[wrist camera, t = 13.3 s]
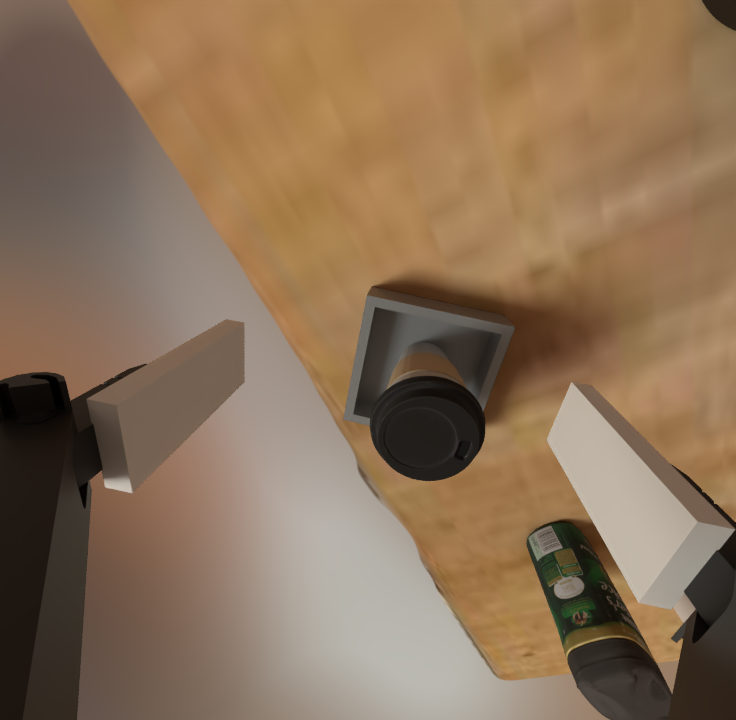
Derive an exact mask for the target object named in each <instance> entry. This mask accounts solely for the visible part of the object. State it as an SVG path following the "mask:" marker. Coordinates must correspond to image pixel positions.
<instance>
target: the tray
mask: <svg viewBox="0 0 736 720" xmlns="http://www.w3.org/2000/svg"><path fill="white" fill-rule="evenodd" d="M514 329H515V326H514V325H513V324H512V323H511V322H510V321H509V320H508V319H507V318H506V317H505V315H501V314H497V313H492V312H487V311H483V310H478V309H473V308H469V307H464V306H459V305H455V304H450V303H446V302H441V301H436V300H432V299H427V298H422V297H418V296H413V295H408V294H404V293H399V292H395V291H390V290H385V289H381V288H376V287H371V289H370V291H369V293H368V294H367V298H366V303H365V309H364V314H363V319H362V324H361V329H360V335H359V340H358V345H357V350H356V356H355V361H354V366H353V371H352V376H351V382H350V387H349V392H348V397H347V403H346V408H345V413H344V418H343V420H347V421H352V422H356V423H360V424H365V425H369V426H370V417H371V412H372V409H373V407H374V405H375V403H376V401H377V400H378V398H379V397H380V396H381V395H382V393H383V392H385V391H386V389H387V387H388V384H389V381H390V378H391V376H392V373H393V370H394V369H395V367H396V365H397V363H398V360H399V358H400V355H401V354H402V352H403V351H404V350H405V348H407V347H408V346H409V345H412V344H414V343H418V342H425V343H431V344H434V345H436V346H438V347H440V348H441V349H442V350H443V351H444V352H445V353H446V355H447V357H448V359H449V360H450V362H451V363H452V364H453V365H454V366H455V368H456V370H457V371H458V373H459V375H460V377H461V378H462V380H463V382H464V384H465V385H466V387H467V389H468V390H469V391H470V392H471V393H472V394H473V395H474V396H475V398H476V399H477V400H478V402H479V403H480V405H481V407H482V410H483V411H484V408H485V406H486V403H487V400H488V398H489V395H490V393H491V390H492V387H493V385H494V382H495V379H496V377H497V374H498V372H499V369H500V366H501V364H502V361H503V358H504V356H505V353H506V351H507V348H508V345H509V343H510V340H511V337H512V335H513V332H514Z"/></svg>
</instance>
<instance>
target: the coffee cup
mask: <svg viewBox="0 0 736 720" xmlns="http://www.w3.org/2000/svg"><path fill="white" fill-rule="evenodd" d="M370 431H371V437H372V441H373V444H374V446H375V448H376V450H377V451H378V453H379V454H380V456H381V457H382V458H383V459H384V460H385V461H386V462H387V463H388V465H389V466H390V467H392V468H393V469H394V470H395V471H397V472H398V473H400V474H402V475H404V476H406V477H409V478H412V479H416V480H422V481H436V480H442V479H446V478H449V477H452V476H454V475H456V474H458V473H459V472H461V471H462V470H464V469H465V468H466V467H467V466H468V465H469V464H470V463H471V462H472V460H473V459H474V458H475V456H476V455H477V454H478V452H479V451H480V449H481V447H482V444H483V442H484V438H485V417H484V413H483V410H482V407H481V405H480V403H479V402H478V400H477V399H476V398H475V396H474V395H473V394H472V393H471V392H470V391H469V390H468V389H467V387H466V385H465V384H464V382H463V380H462V378H461V377H460V375H459V373H458V371H457V370H456V368H455V366H454V365H453V364H452V363H451V362H450V360H449V359H448V357H447V355H446V353H445V352H444V351H443V350H442V349H441V348H440V347H438V346H436V345H434V344H431V343H425V342H418V343H414V344H412V345H409V346H408V347H407V348H405V350H404V351H403V352H402V354H401V355H400V358H399V360H398V363H397V365H396V367H395V369H394V370H393V373H392V376H391V378H390V381H389V384H388V387H387V389H386V391H385V392H383V393H382V395H381V396H380V397H379V398H378V400H377V401H376V403H375V405H374V407H373V409H372V412H371V417H370Z"/></svg>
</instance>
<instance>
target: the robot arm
mask: <svg viewBox="0 0 736 720" xmlns="http://www.w3.org/2000/svg"><path fill="white" fill-rule="evenodd" d="M702 1H703V3H704V4H705V6H706V8H707V9H708V10H709V12H710V13H711V14H712V15H713V16H714V17H715V18H716V19H717V20H718V21H720V22H721V23H722V24H724V25H725V26H727V27H729V28H731V29H733V30H736V0H702ZM243 383H244V322H238V321H232V320H224V321H223V322H221V323H219V324H217V325H216V326H214V327H212V328H210V329H208V330H207V331H205V332H203V333H201V334H200V335H198V336H196V337H194V338H193V339H191V340H189V341H187V342H186V343H184V344H182V345H180V346H179V347H177V348H175V349H173V350H172V351H170V352H168V353H166V354H165V355H163V356H161V357H159V358H158V359H156V360H154V361H152V362H151V363H149V364H143V365H140V366H137V367H133V368H130V369H128V370H126V371H124V372H122V373H120V374H119V375H117V376H115V378H111V379H109V380H108V381H106V382H104V384H100V385H99V386H97V387H95V388H93V389H91V390H89V391H88V392H86V393H84V394H82V395H80V396H79V397H77V398H75V399H73V400H71V401H70V398H69V394H68V389H67V385H66V381H65V378H64V377H63V376H61V375H59V374H56V373H49V372H40V373H39V372H38V373H29V374H21V375H16V376H13V377H10V378H6V379H3V380H1V381H0V720H77V711H78V695H79V680H80V679H79V678H80V663H81V647H82V633H83V616H84V602H85V601H84V600H85V586H86V570H87V555H88V539H89V523H90V507H91V492H92V490H91V486H90V481H89V480H90V479H91V478H93V477H94V476H95V475H96V474H98V473H99V472H100V471H101V470H102V474H103V479H104V483H105V487H106V488H111V489H116V490H120V491H125V492H129V493H133V492H134V491H135V490H136V489H137V488H138V487H139V486H140V485H141V484H142V483H143V482H144V481H145V480H146V479H147V478H148V477H149V476H150V475H151V474H152V473H153V472H154V471H155V470H156V469H157V468H158V467H159V466H160V465H161V464H162V463H163V462H164V461H165V460H166V459H167V458H168V457H169V456H170V455H171V454H172V453H173V452H174V451H175V450H176V449H177V448H178V447H179V446H180V445H181V444H182V443H183V442H184V441H185V440H186V439H187V438H188V437H189V436H190V435H191V434H192V433H193V432H194V431H195V430H196V429H197V428H198V427H199V426H201V424H203V422H205V421H206V420H207V419H208V418H209V417H210V415H211V414H212V413H214V412H215V411H216V410H217V409H218V408H219V407H220V405H222V404H223V403H224V402H225V401H226V400H227V399H228V397H230V396H231V395H232V394H233V393H234V392H235V391H236V389H238V388H239V386H241V385H242V384H243ZM547 442H548V443H549V445H550V447H551V449H552V450H553V452H554V454H555V456H556V457H557V459H558V461H559V463H560V465H561V466H562V468H563V470H564V472H565V473H566V475H567V477H568V479H569V480H570V482H571V484H572V486H573V488H574V489H575V491H576V493H577V495H578V496H579V498H580V500H581V502H582V503H583V505H584V507H585V509H586V511H587V512H588V514H589V516H590V518H591V519H592V521H593V523H594V525H595V526H596V528H597V530H598V532H599V534H600V535H601V537H602V539H603V541H604V542H605V544H606V546H607V548H608V549H609V551H610V553H611V555H612V557H613V558H614V560H615V562H616V564H617V565H618V567H619V569H620V571H621V572H622V574H623V576H624V578H625V580H626V581H627V583H628V585H629V587H630V588H631V590H632V592H633V594H634V595H635V597H636V599H637V601H638V603H642V604H647V605H651V606H656V607H661V608H665V609H670V610H671V609H672V608H673V607H674V606H675V604H676V603H677V602H678V601H679V599H680V598H681V597H682V596H683V594H684V593H685V594H686V596H687V597H688V599H689V600H690V601H691V603H692V604H693V606H694V607H695V611H694V612H693V613H692V614H691V615H690V617H689V618H688V619H687V620H686V621H685V622H684V624H683V625H682V626H681V627H680V628H679V629H678V631H677V632H676V633H675V634H674V636H673V637H672V638H671V639H672V640H673V641H675V642H676V643H677V642H678V641H679V640H680V639H681V638H684V639H683V644H682V649H681V654H680V659H679V664H678V669H677V674H676V679H675V684H674V689H673V694H672V699H671V704H670V709H669V714H668V719H667V720H736V522H735V521H733V520H732V519H731V518H730V517H729V516H728V515H727V514H726V513H725V512H724V511H723V510H722V509H721V508H720V507H719V506H718V505H717V504H714V501H713V500H712V499H711V498H710V497H709V496H708V495H707V494H706V493H704V492H702V489H701V488H700V487H699V486H698V485H697V484H696V483H695V482H694V481H693V480H692V479H691V478H690V477H689V476H687V475H686V474H684V473H683V472H681V471H680V470H679V469H677V468H676V467H674V466H673V465H671V464H670V463H669V462H668V461H667V460H666V459H665V458H664V457H663V456H662V455H661V454H660V453H659V452H658V451H657V450H656V449H655V448H654V447H653V446H652V445H651V444H650V443H649V442H648V441H647V440H646V439H645V438H644V437H643V436H642V435H641V434H640V433H639V432H638V431H637V430H636V429H635V428H634V427H633V426H632V425H631V424H630V423H629V422H628V421H627V420H626V419H625V418H624V417H623V416H622V415H621V414H620V413H619V412H618V411H617V410H616V409H615V408H614V407H613V406H612V405H611V404H610V403H609V402H608V401H607V400H606V399H605V398H604V397H603V396H602V395H601V394H600V393H599V392H598V391H597V390H596V389H595V388H594V387H593V386H591V385H586V384H580V383H575V382H571V384H570V387H569V389H568V391H567V394H566V396H565V398H564V401H563V403H562V405H561V408H560V410H559V412H558V415H557V417H556V419H555V422H554V424H553V426H552V429H551V431H550V433H549V436H548V438H547Z"/></svg>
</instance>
